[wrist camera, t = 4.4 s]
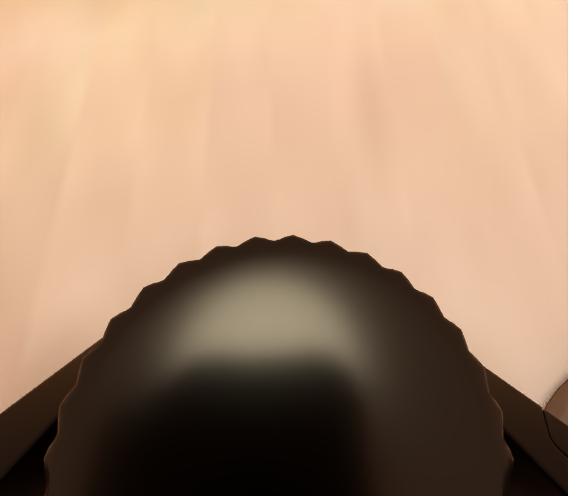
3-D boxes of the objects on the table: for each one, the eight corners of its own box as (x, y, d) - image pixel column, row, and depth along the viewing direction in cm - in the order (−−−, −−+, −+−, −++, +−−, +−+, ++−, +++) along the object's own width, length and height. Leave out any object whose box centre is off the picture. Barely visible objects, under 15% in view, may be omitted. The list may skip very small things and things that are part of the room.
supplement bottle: (214, 476, 13) (-121, 1357, 2) (177, 317, 15) (-118, 239, 3) (365, 417, 14) (783, 741, 3) (313, 274, 16) (436, 99, 4)
